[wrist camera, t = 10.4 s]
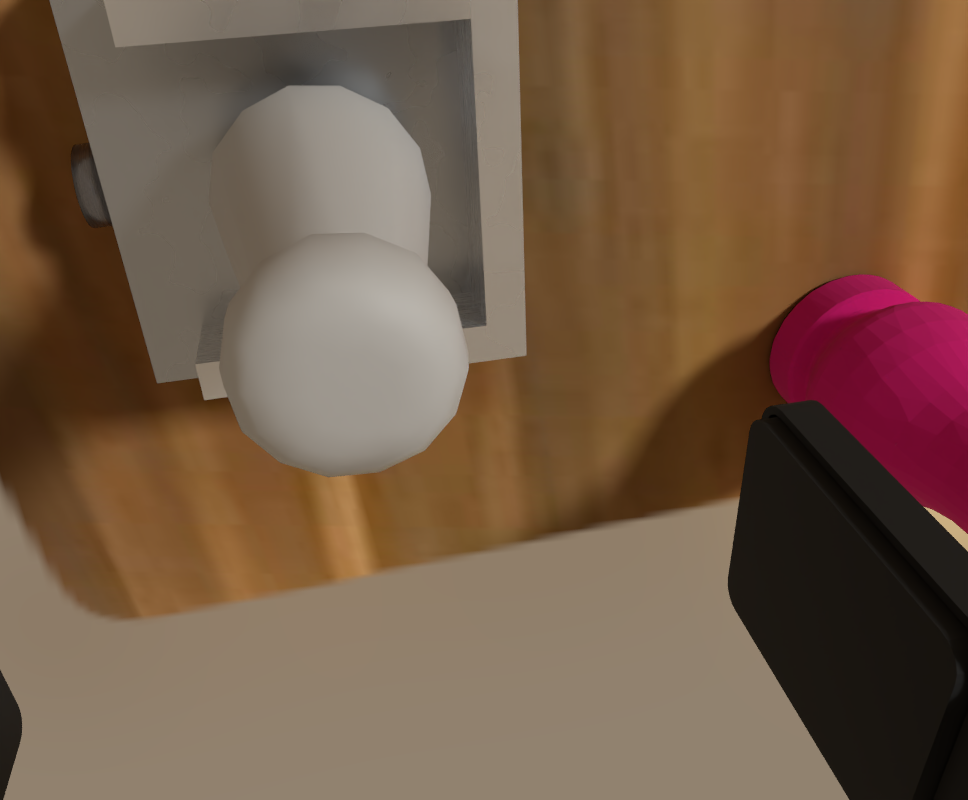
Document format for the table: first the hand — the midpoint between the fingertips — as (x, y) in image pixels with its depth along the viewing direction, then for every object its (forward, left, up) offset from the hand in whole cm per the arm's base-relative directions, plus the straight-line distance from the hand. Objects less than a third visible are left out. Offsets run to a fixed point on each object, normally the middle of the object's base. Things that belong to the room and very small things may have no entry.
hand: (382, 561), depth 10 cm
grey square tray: (0, 0, -21) cm, 21 cm away
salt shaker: (0, 0, -18) cm, 18 cm away
